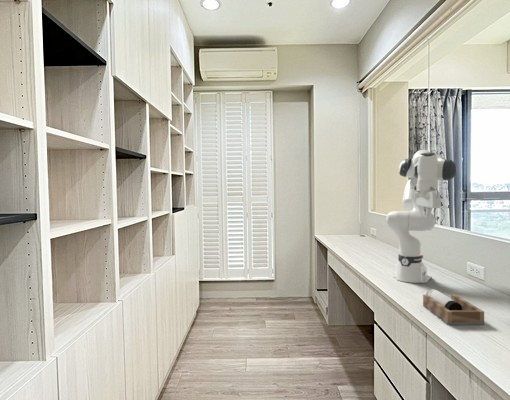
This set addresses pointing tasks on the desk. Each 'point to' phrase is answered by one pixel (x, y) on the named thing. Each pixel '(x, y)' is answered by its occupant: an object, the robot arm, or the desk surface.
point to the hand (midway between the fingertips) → (427, 216)
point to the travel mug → (444, 300)
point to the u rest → (455, 312)
